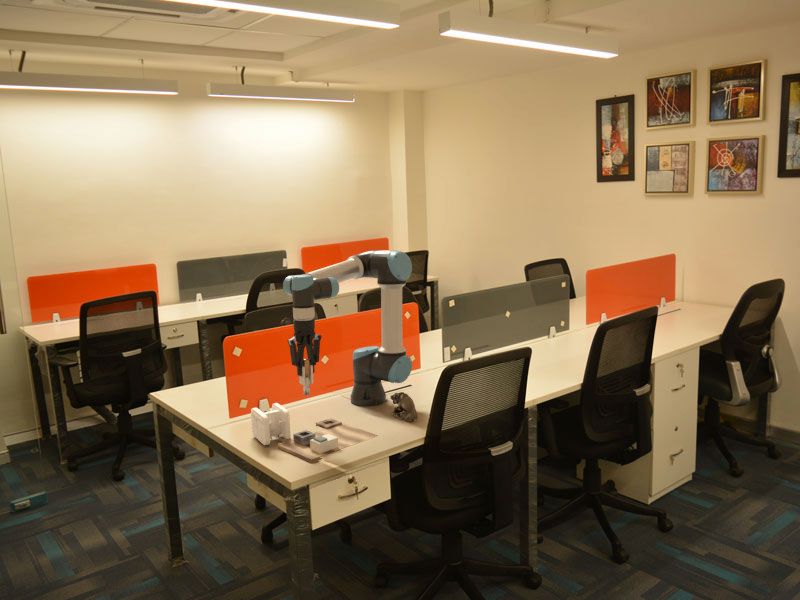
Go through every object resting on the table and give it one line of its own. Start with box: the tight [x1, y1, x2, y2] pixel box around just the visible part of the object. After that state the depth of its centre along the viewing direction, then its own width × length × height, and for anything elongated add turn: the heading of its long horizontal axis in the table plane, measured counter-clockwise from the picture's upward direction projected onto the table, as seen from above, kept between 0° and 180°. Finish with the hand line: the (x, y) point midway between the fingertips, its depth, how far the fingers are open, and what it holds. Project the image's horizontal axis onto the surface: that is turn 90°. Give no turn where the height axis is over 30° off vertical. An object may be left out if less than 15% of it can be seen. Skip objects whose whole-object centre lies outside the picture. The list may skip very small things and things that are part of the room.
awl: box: [302, 357, 311, 396], centre depth 246 cm, size 3×3×13 cm
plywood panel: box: [277, 422, 379, 464], centre depth 247 cm, size 30×20×4 cm, turn 133°
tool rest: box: [315, 417, 343, 429], centre depth 263 cm, size 7×7×2 cm
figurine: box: [390, 391, 418, 422], centre depth 271 cm, size 6×14×10 cm, turn 29°
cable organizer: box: [250, 402, 292, 446], centre depth 252 cm, size 15×11×12 cm
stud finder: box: [310, 434, 338, 453], centre depth 239 cm, size 8×6×4 cm
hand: (306, 383), depth 247 cm, fingers closed on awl, 3 cm apart
